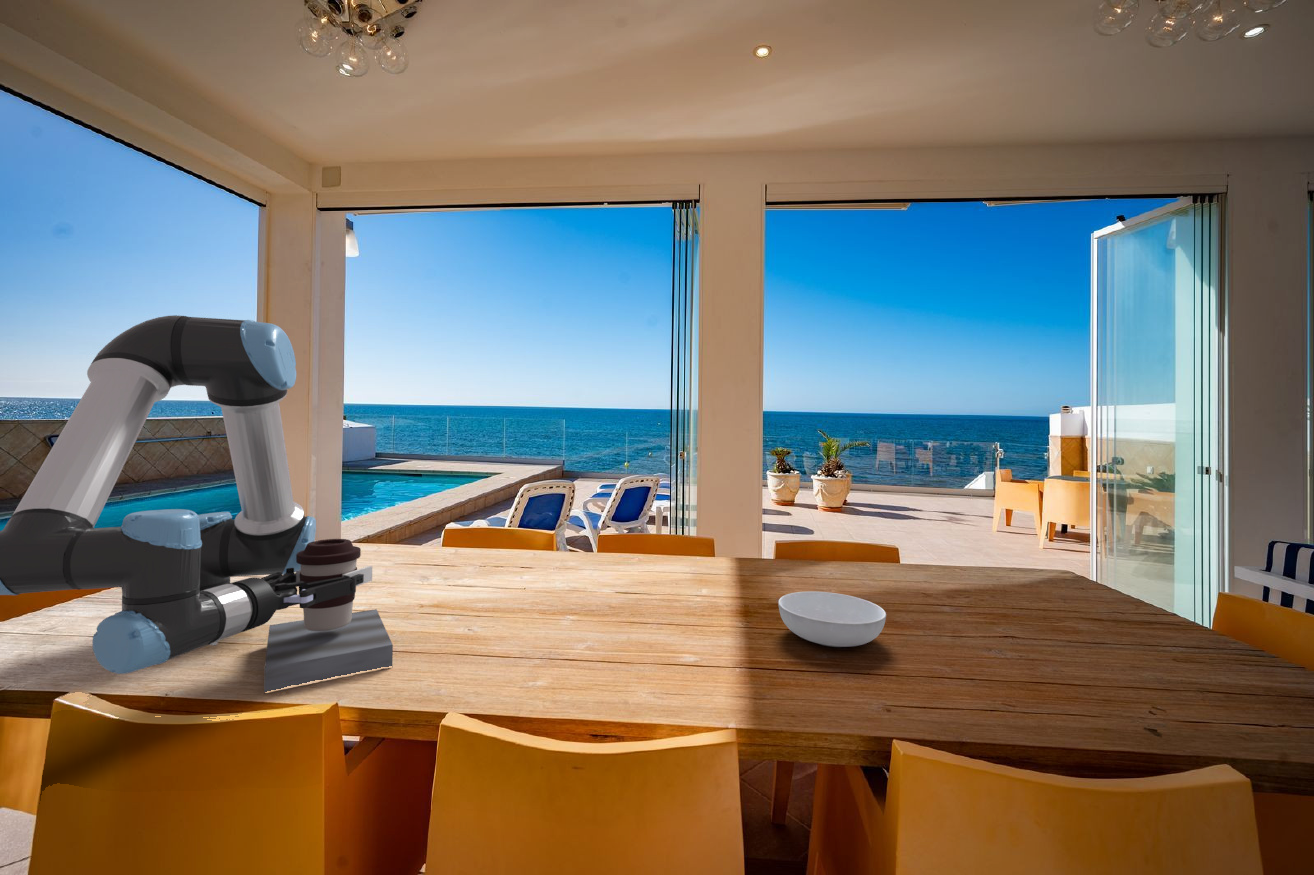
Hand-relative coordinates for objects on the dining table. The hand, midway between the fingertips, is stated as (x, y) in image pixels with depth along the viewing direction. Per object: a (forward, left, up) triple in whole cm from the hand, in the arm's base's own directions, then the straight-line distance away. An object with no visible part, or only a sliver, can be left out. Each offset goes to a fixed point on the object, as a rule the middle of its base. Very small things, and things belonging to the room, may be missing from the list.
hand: (348, 571), depth 102 cm
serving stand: (+3, -3, -14) cm, 15 cm away
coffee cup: (+3, -3, -9) cm, 10 cm away
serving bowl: (+45, +83, -15) cm, 95 cm away
